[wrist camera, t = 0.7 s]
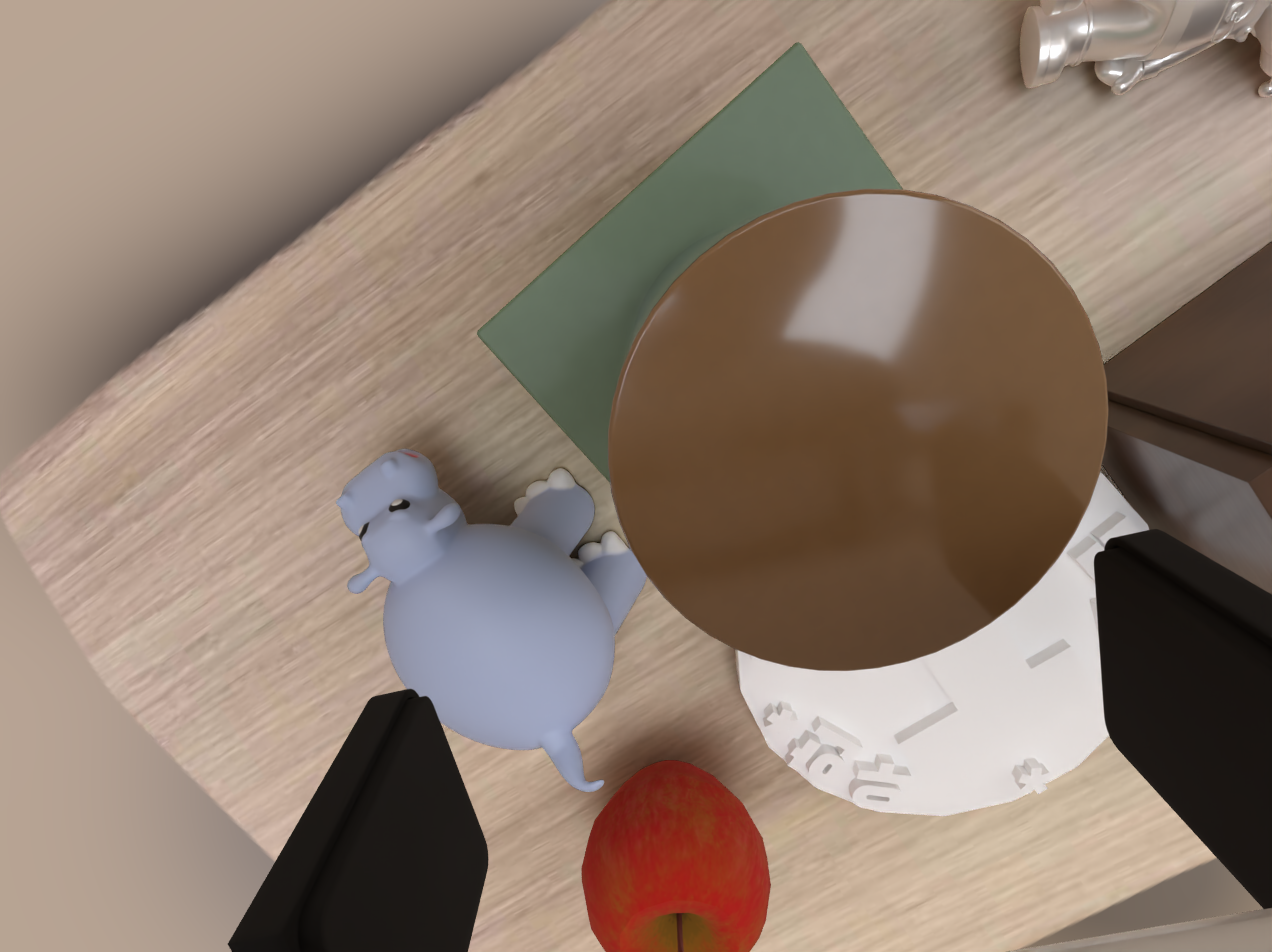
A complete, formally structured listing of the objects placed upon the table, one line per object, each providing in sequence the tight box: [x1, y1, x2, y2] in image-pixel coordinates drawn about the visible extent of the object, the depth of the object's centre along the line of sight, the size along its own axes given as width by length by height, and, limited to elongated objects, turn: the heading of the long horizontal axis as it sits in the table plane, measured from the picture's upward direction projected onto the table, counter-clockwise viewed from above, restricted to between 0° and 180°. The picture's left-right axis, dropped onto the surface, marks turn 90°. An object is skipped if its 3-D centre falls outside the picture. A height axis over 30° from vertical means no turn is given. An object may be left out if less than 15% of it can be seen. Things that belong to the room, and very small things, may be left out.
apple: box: [582, 760, 771, 952], centre depth 35 cm, size 9×8×11 cm
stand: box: [477, 42, 902, 482], centre depth 26 cm, size 10×10×15 cm
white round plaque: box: [735, 472, 1149, 816], centre depth 36 cm, size 20×20×3 cm
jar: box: [608, 189, 1109, 671], centre depth 15 cm, size 7×7×9 cm
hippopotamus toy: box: [336, 449, 646, 792], centre depth 32 cm, size 11×15×10 cm
